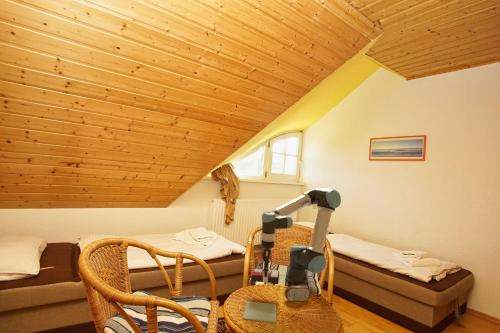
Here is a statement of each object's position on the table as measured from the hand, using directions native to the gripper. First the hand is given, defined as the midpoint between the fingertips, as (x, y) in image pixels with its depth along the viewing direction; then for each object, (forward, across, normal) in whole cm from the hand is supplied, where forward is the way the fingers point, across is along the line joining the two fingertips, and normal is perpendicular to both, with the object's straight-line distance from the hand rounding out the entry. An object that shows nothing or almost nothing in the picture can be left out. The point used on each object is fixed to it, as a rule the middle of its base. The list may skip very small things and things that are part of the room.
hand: (265, 278), depth 164 cm
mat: (+11, +18, -1) cm, 21 cm away
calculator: (+1, 0, 0) cm, 1 cm away
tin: (+11, 0, +19) cm, 22 cm away
